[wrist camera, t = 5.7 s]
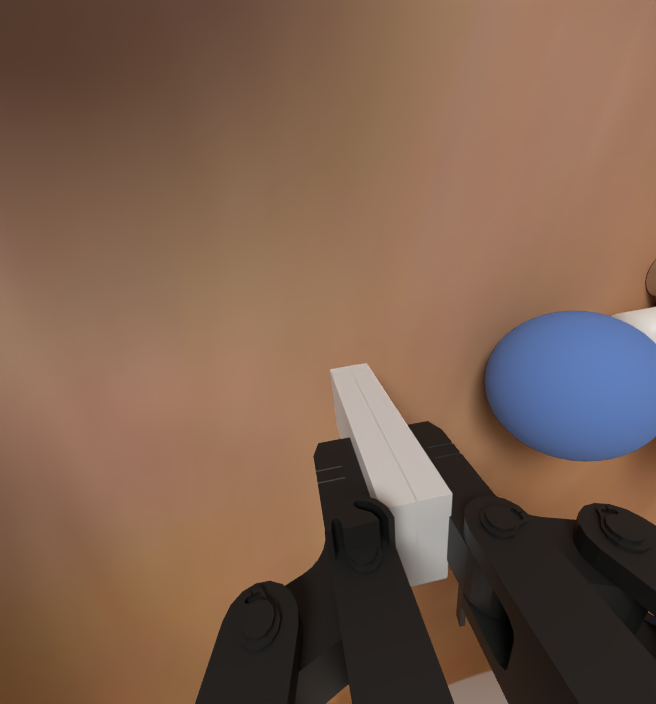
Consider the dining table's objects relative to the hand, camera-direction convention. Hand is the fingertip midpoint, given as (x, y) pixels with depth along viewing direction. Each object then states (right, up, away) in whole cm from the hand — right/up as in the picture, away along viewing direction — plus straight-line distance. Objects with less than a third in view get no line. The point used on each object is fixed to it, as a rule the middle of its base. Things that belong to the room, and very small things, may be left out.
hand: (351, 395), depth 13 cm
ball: (+9, 0, 0) cm, 9 cm away
